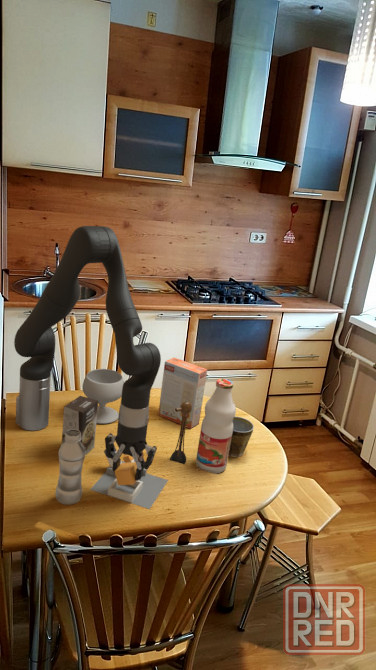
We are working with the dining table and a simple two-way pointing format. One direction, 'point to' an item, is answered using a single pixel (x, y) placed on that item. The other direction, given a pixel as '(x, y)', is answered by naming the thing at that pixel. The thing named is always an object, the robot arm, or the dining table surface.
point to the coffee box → (81, 420)
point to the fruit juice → (216, 429)
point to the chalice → (104, 392)
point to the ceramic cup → (240, 436)
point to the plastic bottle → (70, 468)
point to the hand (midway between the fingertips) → (127, 475)
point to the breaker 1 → (110, 458)
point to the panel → (131, 488)
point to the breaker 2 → (128, 458)
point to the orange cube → (126, 473)
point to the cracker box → (182, 390)
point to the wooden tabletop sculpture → (181, 434)
